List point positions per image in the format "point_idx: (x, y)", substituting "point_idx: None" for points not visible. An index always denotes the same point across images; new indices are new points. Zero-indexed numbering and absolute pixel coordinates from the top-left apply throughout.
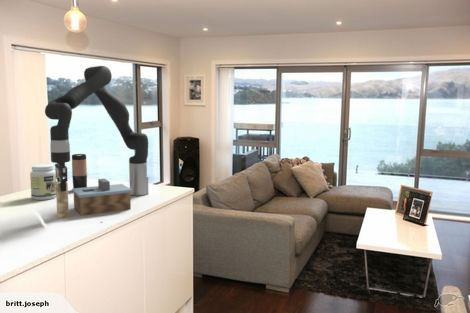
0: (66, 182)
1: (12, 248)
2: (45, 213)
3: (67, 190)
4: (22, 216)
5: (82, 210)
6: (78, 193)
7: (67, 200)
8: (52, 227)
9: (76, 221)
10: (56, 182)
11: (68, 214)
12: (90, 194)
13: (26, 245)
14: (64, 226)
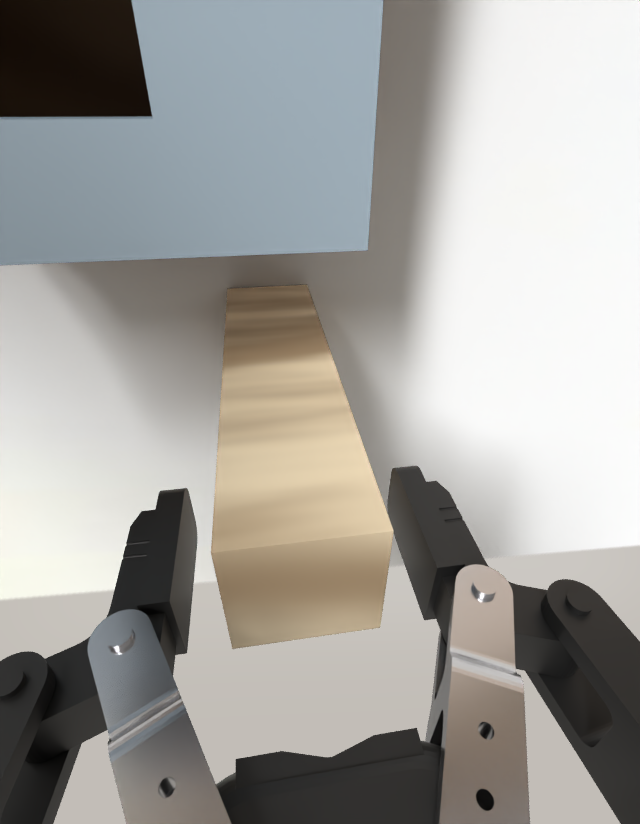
0: (367, 543)
1: (612, 531)
2: (44, 420)
3: (359, 442)
4: (97, 529)
5: None
6: (238, 241)
7: (333, 371)
8: (440, 399)
9: (396, 238)
10: (288, 640)
11: (312, 303)
12: (380, 27)
13: (622, 496)
14: (467, 336)
